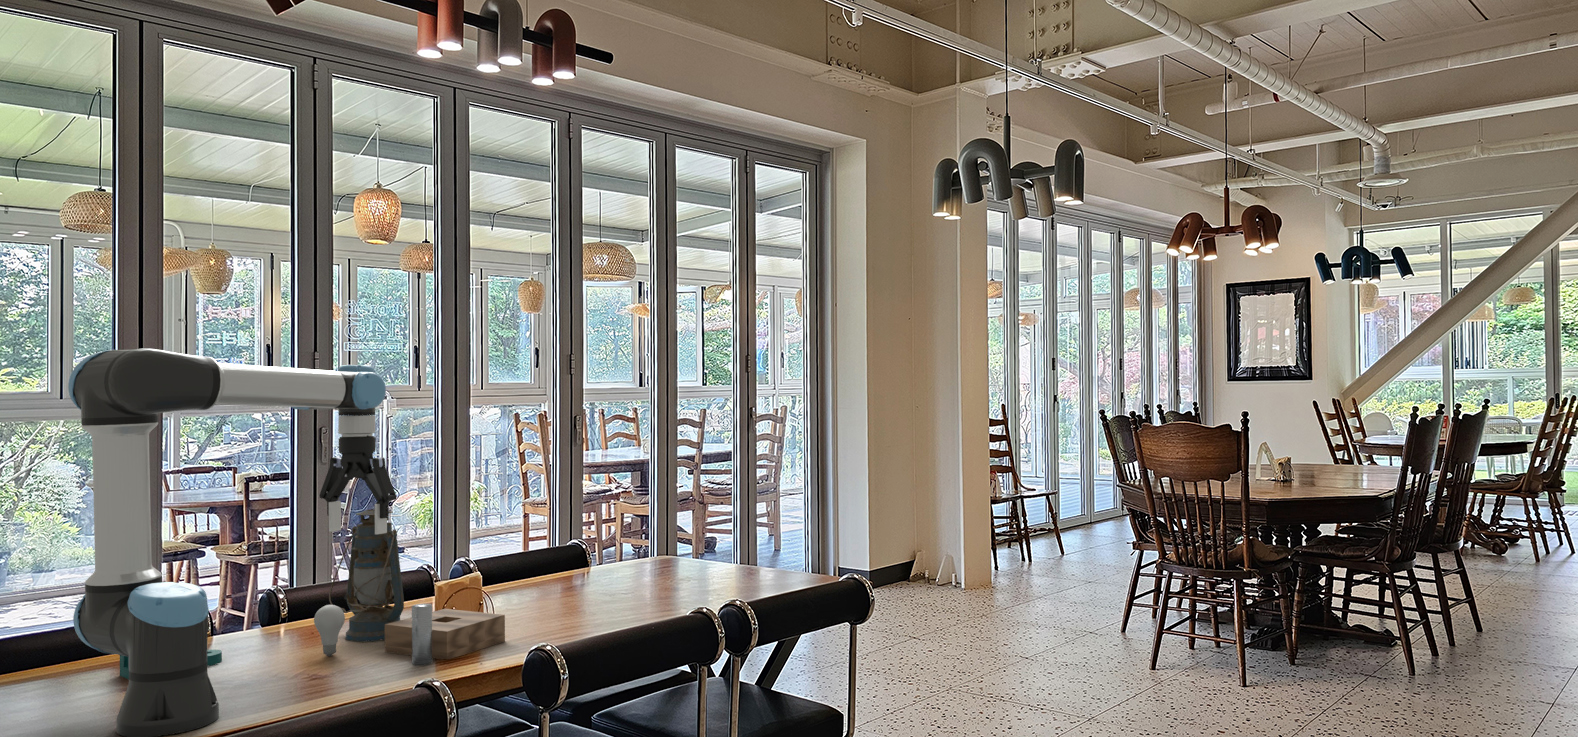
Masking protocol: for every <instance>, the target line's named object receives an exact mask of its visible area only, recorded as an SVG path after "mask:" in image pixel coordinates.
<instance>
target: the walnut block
mask: <svg viewBox="0 0 1578 737" xmlns="http://www.w3.org/2000/svg"><path fill="white" fill-rule="evenodd" d="M504 642H506V614H501V613H491V612H490V613H489V612H483V611H482V612H481V611H473V610H472V611H471V610H459V609H451V608H443V609H438V610H435V611H432V659H435V658H436V659H437V660H443V659H449V660H452V659H454V658H457V657H460V656H464V655H466V654H470V653H473V652H476V651H479V650H482V649H486V648H488V647H489V648H490V647H492V646H495V645H498V644H501V643H504ZM384 653H390V654H396V655H397V654H399V655H407V656H412V616H411V617H409V618H403V619H400V621H396V622H392V623H388V624H385V640H384ZM451 658H452V659H451Z"/></svg>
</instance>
